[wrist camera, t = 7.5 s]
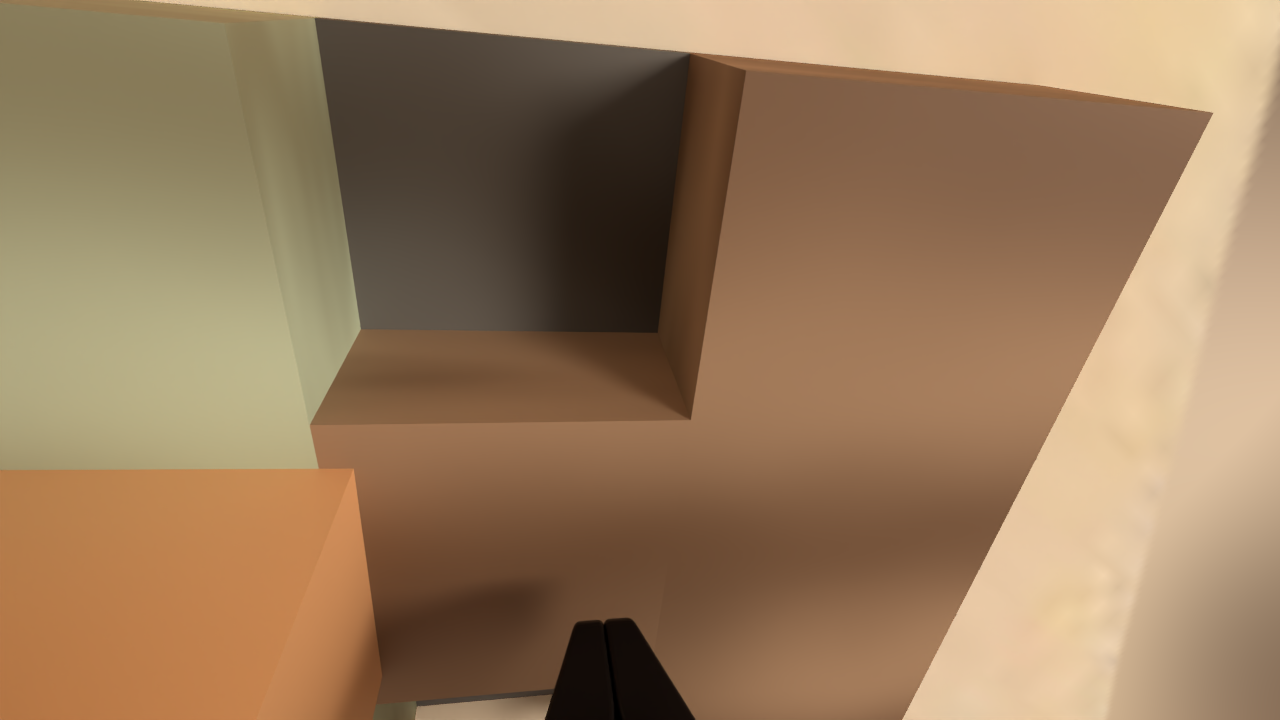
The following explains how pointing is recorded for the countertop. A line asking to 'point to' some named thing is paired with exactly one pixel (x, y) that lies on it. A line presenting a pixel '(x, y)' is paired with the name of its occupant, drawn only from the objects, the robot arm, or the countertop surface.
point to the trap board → (570, 323)
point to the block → (185, 596)
